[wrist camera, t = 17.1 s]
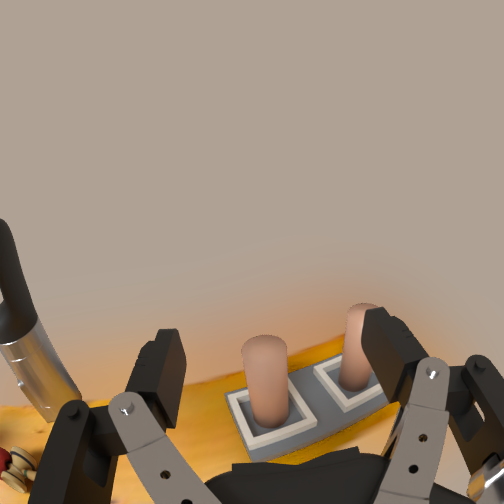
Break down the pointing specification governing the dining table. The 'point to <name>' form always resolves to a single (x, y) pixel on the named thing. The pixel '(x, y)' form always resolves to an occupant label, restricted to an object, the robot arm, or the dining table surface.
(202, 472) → the dining table surface
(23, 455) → the kendama
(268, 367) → the post
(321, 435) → the grey peg holder
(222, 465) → the dining table surface
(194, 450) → the dining table surface
